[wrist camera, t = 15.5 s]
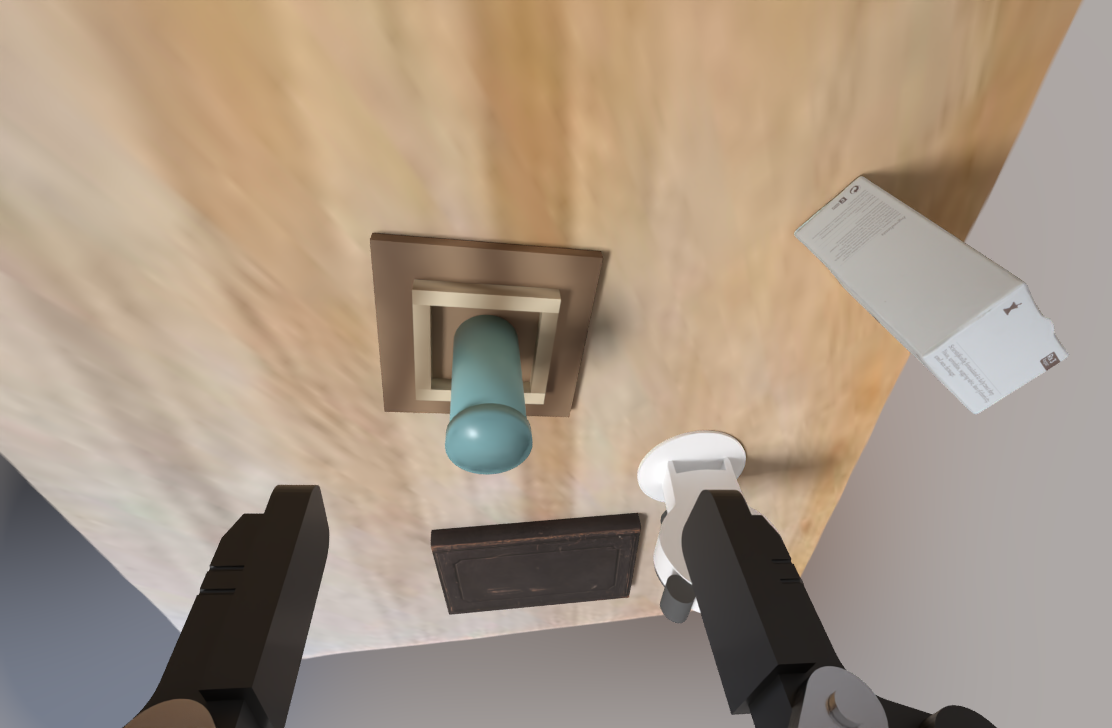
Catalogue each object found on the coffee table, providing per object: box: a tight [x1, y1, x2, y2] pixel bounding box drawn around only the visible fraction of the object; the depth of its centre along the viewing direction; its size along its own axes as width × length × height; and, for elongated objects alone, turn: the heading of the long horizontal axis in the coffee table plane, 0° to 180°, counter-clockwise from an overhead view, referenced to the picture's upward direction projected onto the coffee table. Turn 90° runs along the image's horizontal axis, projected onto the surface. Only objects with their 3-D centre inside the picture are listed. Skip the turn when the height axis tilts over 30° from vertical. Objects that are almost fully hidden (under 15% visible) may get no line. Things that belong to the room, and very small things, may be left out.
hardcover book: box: [431, 513, 641, 614], centre depth 65 cm, size 16×23×2 cm
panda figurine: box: [637, 430, 804, 623], centre depth 51 cm, size 12×11×15 cm
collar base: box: [370, 233, 603, 417], centre depth 42 cm, size 16×16×2 cm
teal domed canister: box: [445, 315, 532, 474], centre depth 38 cm, size 5×5×11 cm
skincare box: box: [794, 176, 1069, 414], centre depth 35 cm, size 8×6×15 cm
